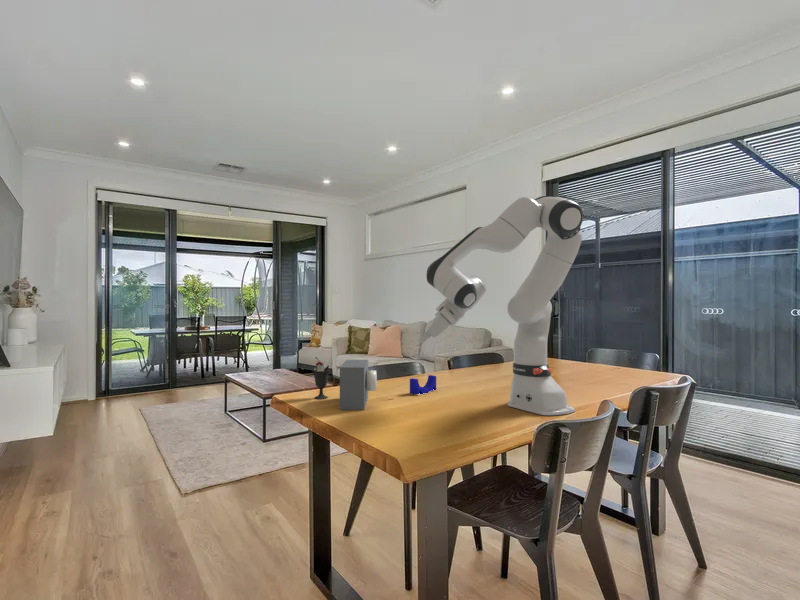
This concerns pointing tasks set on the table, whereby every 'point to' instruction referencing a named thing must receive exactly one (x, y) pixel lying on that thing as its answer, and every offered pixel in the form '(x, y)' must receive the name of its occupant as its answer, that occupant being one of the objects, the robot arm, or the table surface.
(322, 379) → the sundae
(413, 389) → the blue u-shaped block
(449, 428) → the table surface
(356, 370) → the block
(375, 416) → the table surface
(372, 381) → the knob
